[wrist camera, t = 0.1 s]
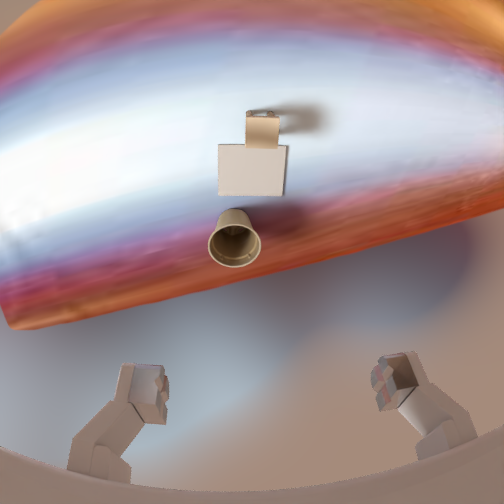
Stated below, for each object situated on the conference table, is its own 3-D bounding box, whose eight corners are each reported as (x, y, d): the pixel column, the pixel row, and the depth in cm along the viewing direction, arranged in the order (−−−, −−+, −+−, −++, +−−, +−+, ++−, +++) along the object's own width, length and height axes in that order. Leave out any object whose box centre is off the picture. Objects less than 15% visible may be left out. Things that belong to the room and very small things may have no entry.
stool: (244, 109, 49) (246, 117, 44) (274, 110, 49) (279, 118, 44) (244, 136, 52) (245, 148, 46) (272, 137, 52) (277, 149, 47)
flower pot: (266, 212, 62) (271, 237, 55) (243, 247, 66) (245, 274, 59) (223, 193, 58) (222, 215, 52) (203, 230, 63) (199, 256, 56)
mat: (218, 144, 53) (218, 145, 52) (285, 145, 53) (286, 146, 53) (218, 194, 59) (218, 195, 58) (281, 195, 59) (281, 196, 59)
